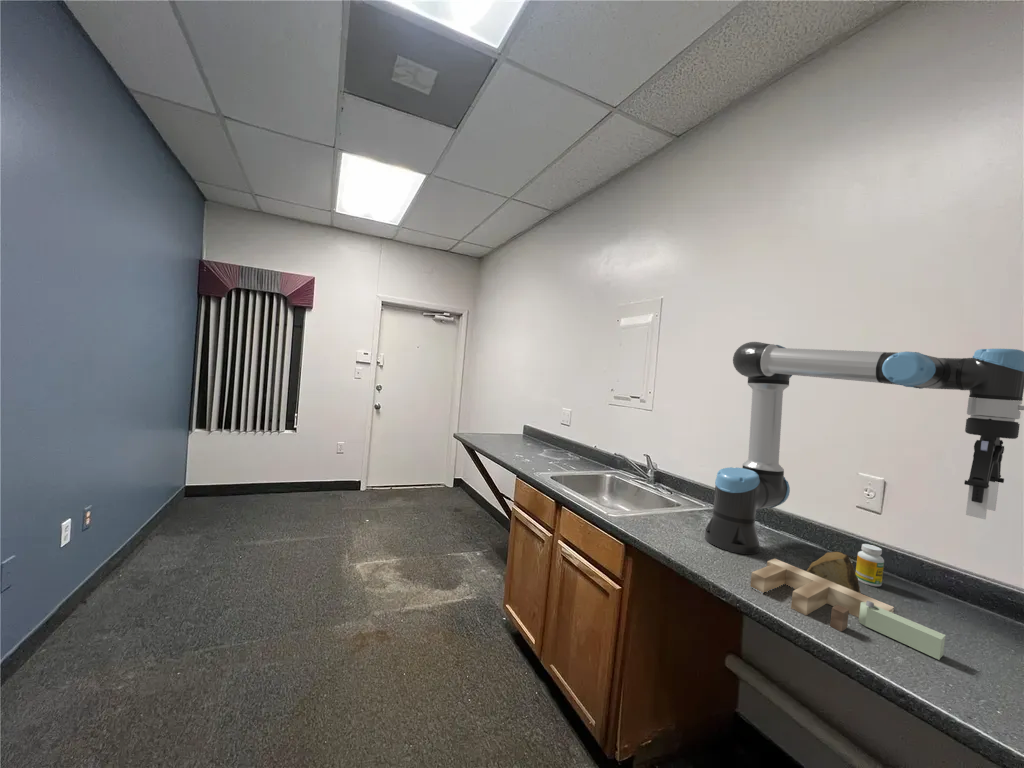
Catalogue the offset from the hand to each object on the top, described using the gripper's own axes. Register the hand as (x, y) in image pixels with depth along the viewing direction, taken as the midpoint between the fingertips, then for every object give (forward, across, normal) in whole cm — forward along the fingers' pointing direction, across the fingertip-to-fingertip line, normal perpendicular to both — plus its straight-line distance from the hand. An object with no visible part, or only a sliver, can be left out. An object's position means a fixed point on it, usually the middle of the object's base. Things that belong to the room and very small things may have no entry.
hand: (981, 512), depth 88 cm
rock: (+26, -9, +23) cm, 36 cm away
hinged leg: (+25, -23, +7) cm, 35 cm away
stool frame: (+26, -25, +21) cm, 41 cm away
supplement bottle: (+26, +4, +18) cm, 32 cm away
